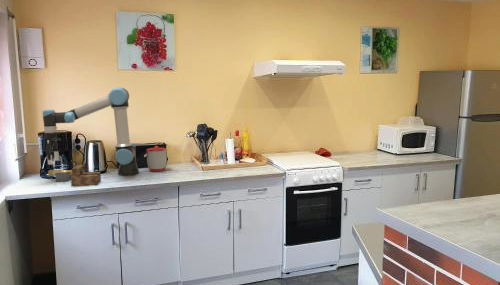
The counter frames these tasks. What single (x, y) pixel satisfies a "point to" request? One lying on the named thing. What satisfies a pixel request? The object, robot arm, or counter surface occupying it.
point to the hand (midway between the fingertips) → (53, 162)
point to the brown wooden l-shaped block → (84, 177)
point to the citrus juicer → (156, 158)
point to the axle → (52, 172)
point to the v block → (62, 177)
